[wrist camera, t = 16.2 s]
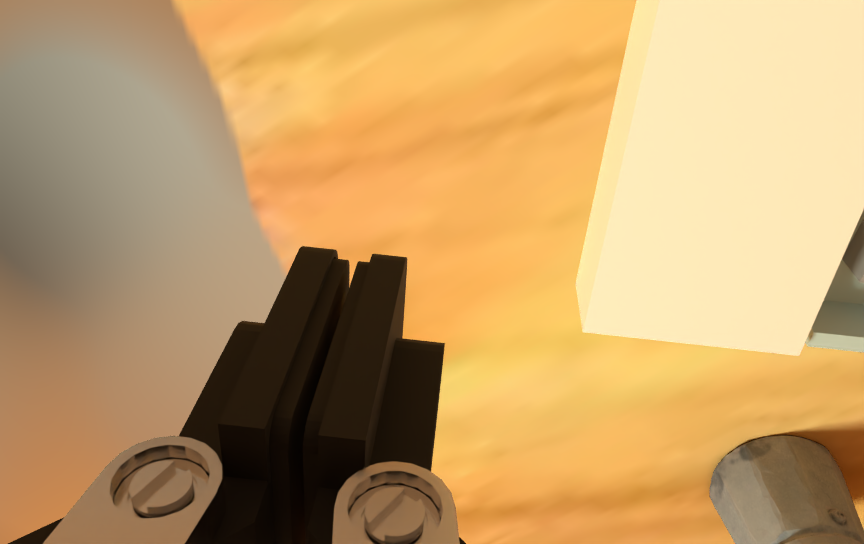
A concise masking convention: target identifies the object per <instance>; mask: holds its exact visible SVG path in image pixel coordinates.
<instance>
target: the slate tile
mask: <svg viewBox="0 0 864 544" xmlns="http://www.w3.org/2000/svg"><path fill="white" fill-rule="evenodd" d="M842 260H843V261H844V262H845V264H846V265H847V266H848V268H849V269H850V270H851V272H852V273H853V274H854V276H855V277H856V278H857V280H858V281H859V282H862V283H864V219H863V221H862V223H861V224H860V226H859V228H858V230H857V232H856V233H855V235H854V237H853V239H852V241H851V242H850V244H849V246H848V248H847V250H846V251H845V253H844V255H843V257H842Z"/></svg>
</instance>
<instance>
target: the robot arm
mask: <svg viewBox="0 0 864 544" xmlns="http://www.w3.org/2000/svg"><path fill="white" fill-rule="evenodd" d="M406 274H407V257H398V256H389V255H380V254H372V257H371V260H370V262H360V261H359V262H358V263H357V266H356V269H355V272H354V275H353V278H352V281H351V285H350V288H349V261H348V260H342V259H338V254H337V251H336V250H333V249H323V248H314V247H305V246H302V247H301V248H300V249H299V251H298V253H297V255H296V257H295V260H294V262H293V264H292V266H291V268H290V270H289V272H288V275H287V277H286V279H285V281H284V283H283V285H282V287H281V290H280V292H279V294H278V296H277V298H276V300H275V302H274V304H273V307H272V309H271V311H270V313H269V315H268V318H267V319H266V322H265V323H256V322H247V321H242V322H240V323H238V325H237V326H236V328H235V329H234V331H233V333H232V335H231V337H230V339H229V341H228V343H227V345H226V346H225V349H224V351H223V352H222V354H221V356H220V358H219V360H218V362H217V364H216V366H215V368H214V369H213V371H212V373H211V375H210V377H209V379H208V381H207V383H206V385H205V387H204V389H203V391H202V393H201V395H200V397H199V398H198V400H197V402H196V404H195V406H194V408H193V410H192V412H191V414H190V416H189V418H188V420H187V421H186V423H185V425H184V427H183V429H182V431H181V433H180V435H179V436H168V437H159V438H153V439H150V440H147V441H144V442H141V443H138V444H136V445H134V446H132V447H130V448H129V449H127V450H125V451H123V452H122V453H120V454H119V455H118V456H117V457H116V458H115V459H114V460H112V462H110V463H109V464H108V465H107V466H106V467H105V468H104V470H103V471H102V472H101V473H100V475H99V476H98V477H97V478H96V479H95V481H94V482H93V483H92V484H91V486H90V487H89V488H88V489H87V490H86V492H85V493H84V494H83V495H82V496H81V498H80V499H79V500H78V501H77V503H76V504H75V505H74V506H73V508H72V509H71V510H70V511H69V512H68V513H67V515H66V516H65V517H64V518H62V519H60V520H57V521H55V522H54V523H51V524H49V525H47V526H45V527H42V528H40V529H38V530H36V531H34V532H32V533H30V534H28V535H25V536H23V537H21V538H19V539H17V540H15V541H13V542H11V543H8V544H466V543H465V542H464V541H463V540H462V539H461V538H460V537H459V533H458V524H457V516H456V507H455V504H454V500H453V497H452V494H451V492H450V490H449V489H448V488H447V486H446V485H445V484H444V482H443V481H442V480H441V479H440V478H439V477H437V476H436V475H435V474H433V473H432V472H431V466H432V457H433V448H434V439H435V430H436V421H437V412H438V403H439V393H440V384H441V374H442V365H443V355H444V346H445V343H437V342H428V341H419V340H410V339H402V335H403V320H404V304H405V289H406Z"/></svg>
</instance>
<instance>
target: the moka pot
mask: <svg viewBox="0 0 864 544" xmlns="http://www.w3.org/2000/svg"><path fill="white" fill-rule="evenodd" d="M710 498H711V500H712V502H713V505H714V507H715V509H716V510H717V512H718V514H719V515H720V517H721V519H722V521H723V522H724V524H725V526H726V528H727V530H728V531H729V533H730V535H731V537H732V539H733V540H734V542H735V544H864V530H863V527H862V524H861V522H860V519H859V517H858V514H857V511H856V509H855V506H854V503H853V501H852V498H851V495H850V492H849V490H848V487H847V485H846V482H845V479H844V477H843V474H842V472H841V470H840V468H839V466H838V465H837V463H836V461H835V460H834V458H833V457H832V455H831V454H830V452H829V451H828V450H827V449H826V448H825V447H824V446H823V445H820V444H818V443H816V442H814V441H811V440H808V439H805V438H802V437H794V436H772V437H764V438H760V439H757V440H754V441H751V442H748V443H745V444H743V445H741V446H739V447H738V448H736V449H735V450H734V451H732V452H731V453H729V454H728V455H726V456H725V457H724V458H723V459H722V461H721V462H719V463H718V465H717V467H716V468H715V470H714V472H713V476H712V479H711V485H710Z"/></svg>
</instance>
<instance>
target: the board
mask: <svg viewBox="0 0 864 544" xmlns="http://www.w3.org/2000/svg"><path fill="white" fill-rule="evenodd" d="M863 210H864V0H636V5H635V10H634V14H633V19H632V24H631V28H630V33H629V38H628V42H627V47H626V51H625V56H624V61H623V65H622V70H621V75H620V79H619V84H618V89H617V93H616V98H615V103H614V107H613V112H612V117H611V121H610V126H609V131H608V135H607V140H606V145H605V149H604V154H603V158H602V163H601V168H600V172H599V177H598V182H597V186H596V191H595V196H594V200H593V205H592V210H591V214H590V219H589V224H588V228H587V233H586V238H585V242H584V247H583V252H582V256H581V261H580V265H579V270H578V275H577V279H576V289H577V296H578V303H579V309H580V316H581V323H582V329H583V332H586V333H596V334H605V335H614V336H623V337H632V338H641V339H650V340H659V341H669V342H678V343H687V344H696V345H705V346H714V347H723V348H733V349H742V350H751V351H760V352H769V353H778V354H787V355H797V356H799V355H800V353H801V351H802V348H803V346H804V344H805V341H806V339H807V337H808V335H809V332H810V330H811V328H812V326H813V323H814V321H815V319H816V316H817V314H818V312H819V310H820V307H821V305H822V303H823V301H824V298H825V296H826V294H827V291H828V289H829V287H830V285H831V282H832V280H833V278H834V276H835V273H836V271H837V269H838V266H839V264H840V262H841V260H842V257H843V255H844V253H845V251H846V248H847V246H848V244H849V241H850V239H851V237H852V235H853V232H854V230H855V228H856V226H857V223H858V221H859V219H860V216H861V214H862V212H863Z"/></svg>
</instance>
